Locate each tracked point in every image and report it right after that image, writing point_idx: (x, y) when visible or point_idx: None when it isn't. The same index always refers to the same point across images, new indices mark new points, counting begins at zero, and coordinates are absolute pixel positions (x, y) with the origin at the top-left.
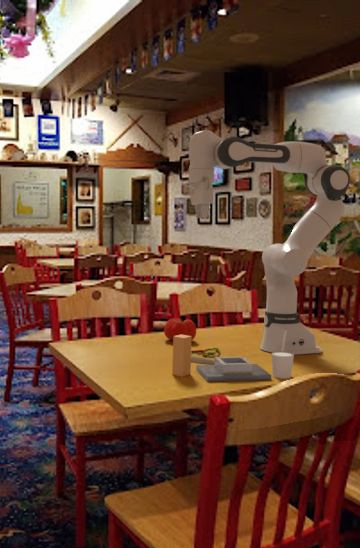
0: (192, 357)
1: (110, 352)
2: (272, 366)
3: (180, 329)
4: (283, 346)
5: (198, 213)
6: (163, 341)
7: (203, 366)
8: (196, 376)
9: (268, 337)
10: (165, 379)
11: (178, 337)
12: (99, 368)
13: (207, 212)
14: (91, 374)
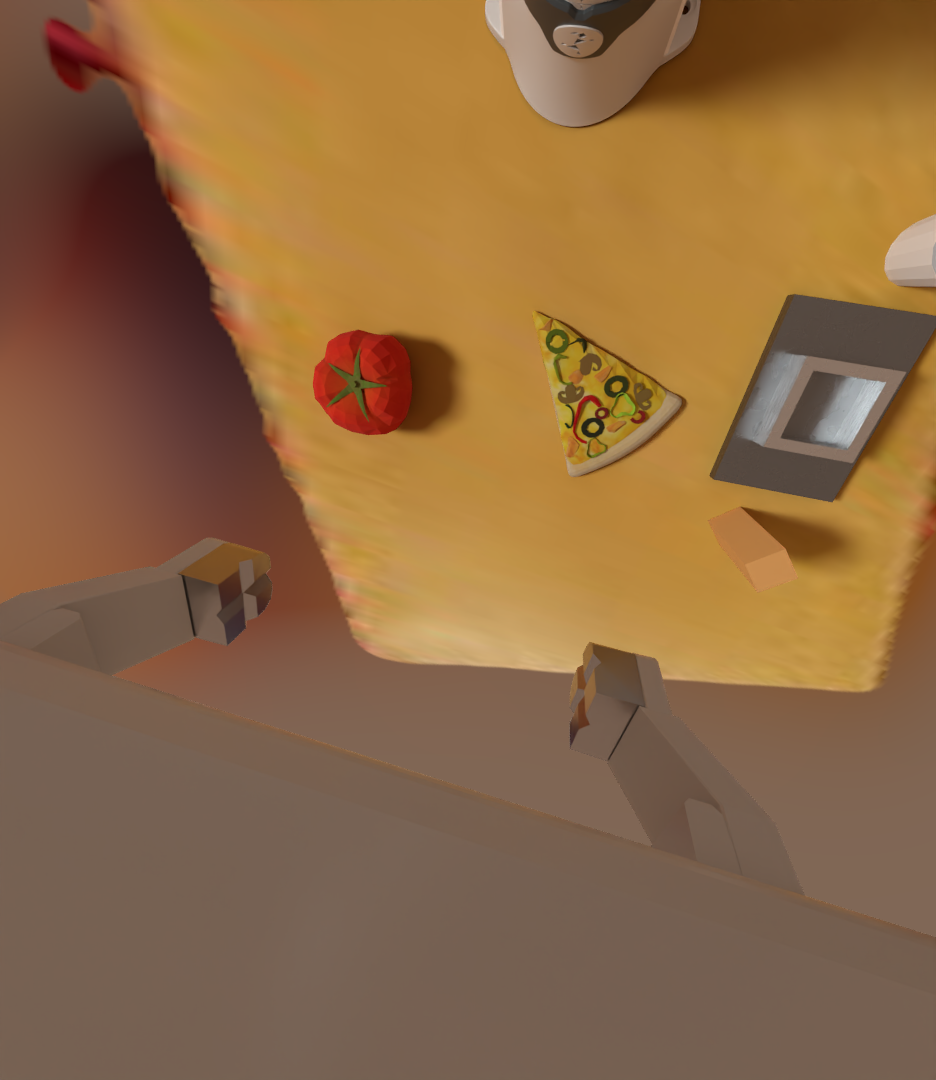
0: (627, 452)
1: (474, 588)
2: (918, 285)
3: (404, 402)
4: (673, 35)
5: (233, 620)
6: None
7: (734, 467)
8: (765, 501)
9: (604, 79)
10: None
11: (775, 585)
12: None
13: (668, 713)
14: None
